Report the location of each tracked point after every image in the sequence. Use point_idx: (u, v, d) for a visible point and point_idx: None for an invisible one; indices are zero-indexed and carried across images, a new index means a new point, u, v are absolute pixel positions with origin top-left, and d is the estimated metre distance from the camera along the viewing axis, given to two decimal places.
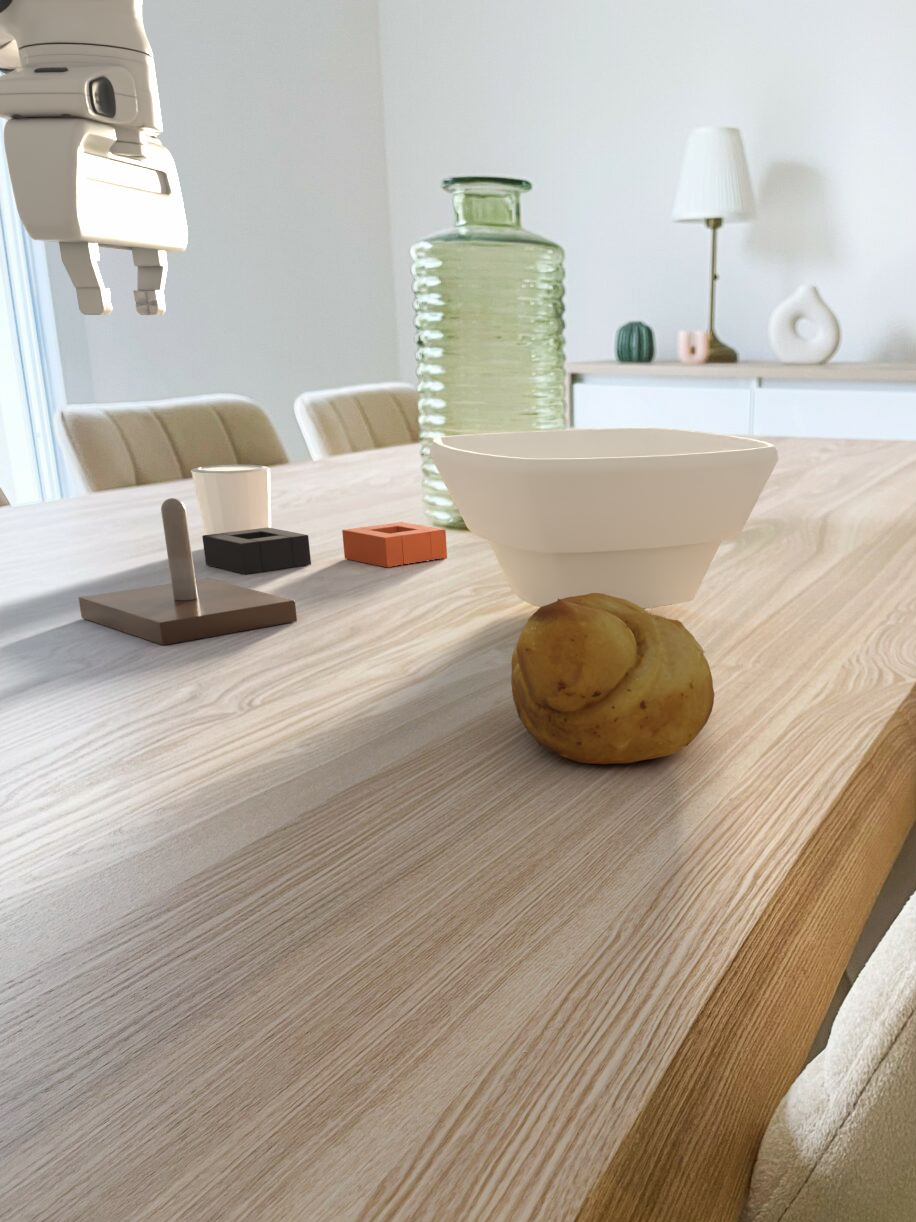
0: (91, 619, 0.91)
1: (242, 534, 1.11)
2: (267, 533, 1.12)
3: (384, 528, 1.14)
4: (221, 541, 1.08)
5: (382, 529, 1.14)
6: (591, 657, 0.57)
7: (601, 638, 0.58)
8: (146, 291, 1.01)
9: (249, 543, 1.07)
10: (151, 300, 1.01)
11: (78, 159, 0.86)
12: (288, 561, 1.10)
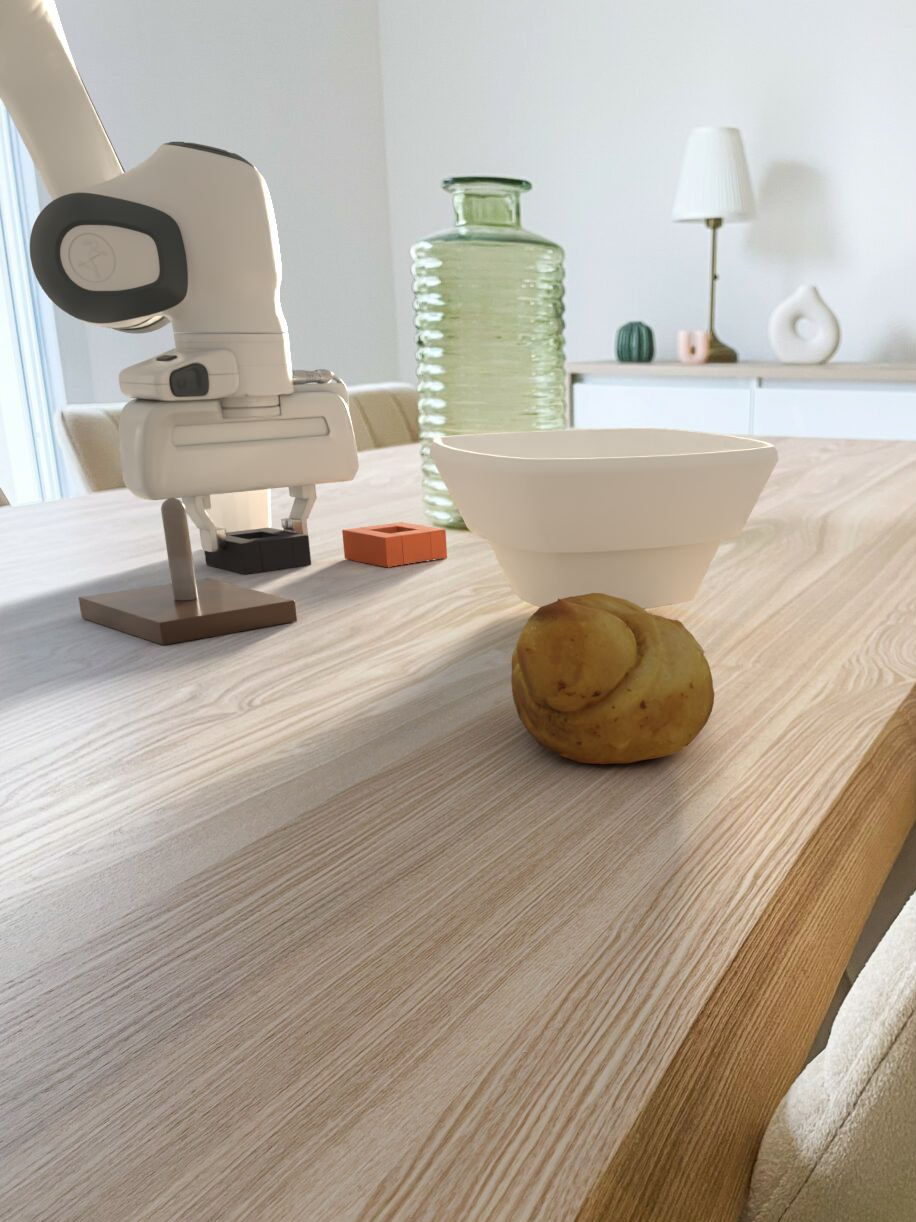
0: (91, 619, 0.91)
1: (242, 534, 1.11)
2: (267, 533, 1.12)
3: (384, 528, 1.14)
4: None
5: (382, 529, 1.14)
6: (591, 657, 0.57)
7: (601, 638, 0.58)
8: (288, 520, 1.12)
9: (249, 543, 1.07)
10: (291, 529, 1.12)
11: (155, 436, 1.00)
12: (288, 561, 1.10)
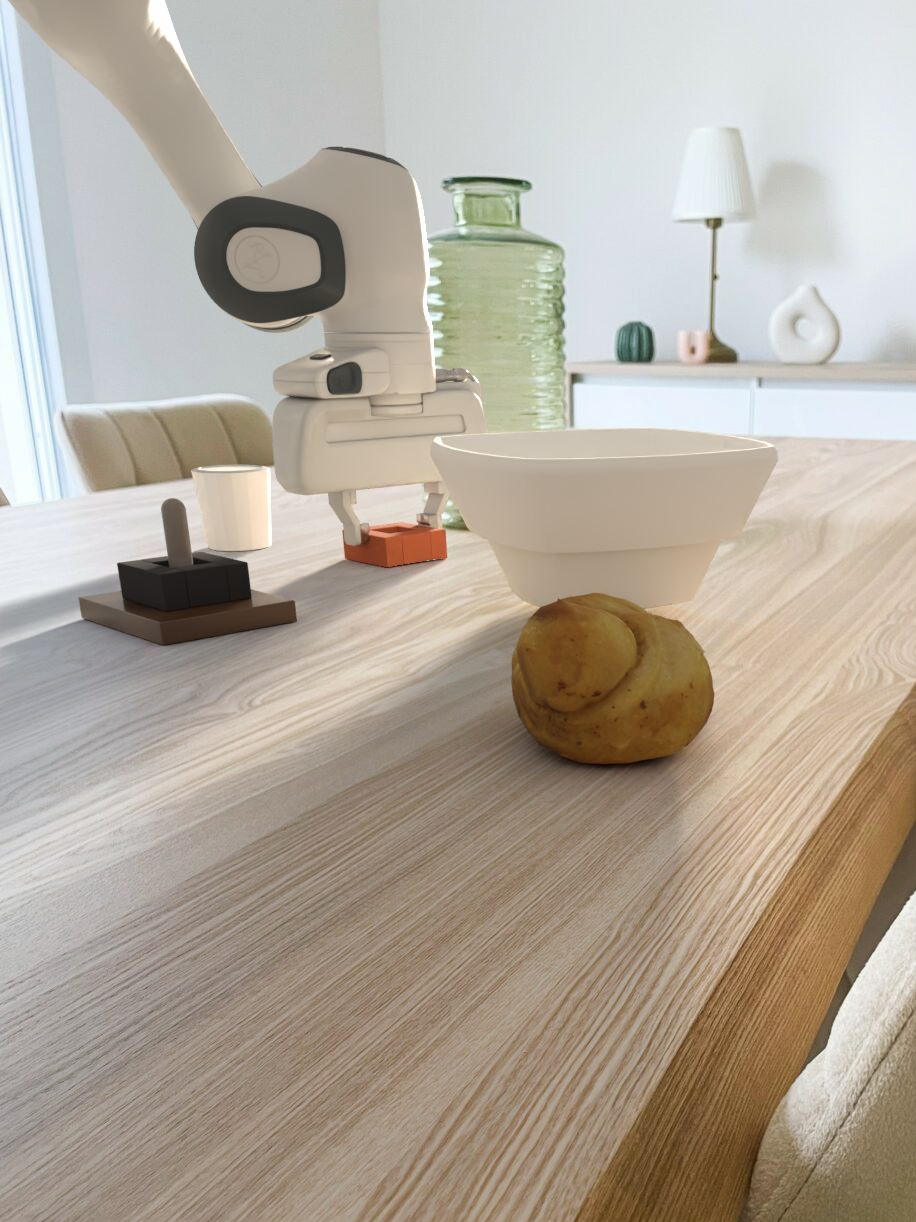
0: (91, 619, 0.91)
1: (167, 561, 0.91)
2: (198, 559, 0.91)
3: (384, 528, 1.14)
4: (139, 571, 0.88)
5: (382, 529, 1.14)
6: (591, 657, 0.57)
7: (601, 637, 0.58)
8: (423, 515, 1.15)
9: (172, 573, 0.86)
10: (427, 523, 1.15)
11: (311, 433, 1.03)
12: (222, 594, 0.89)
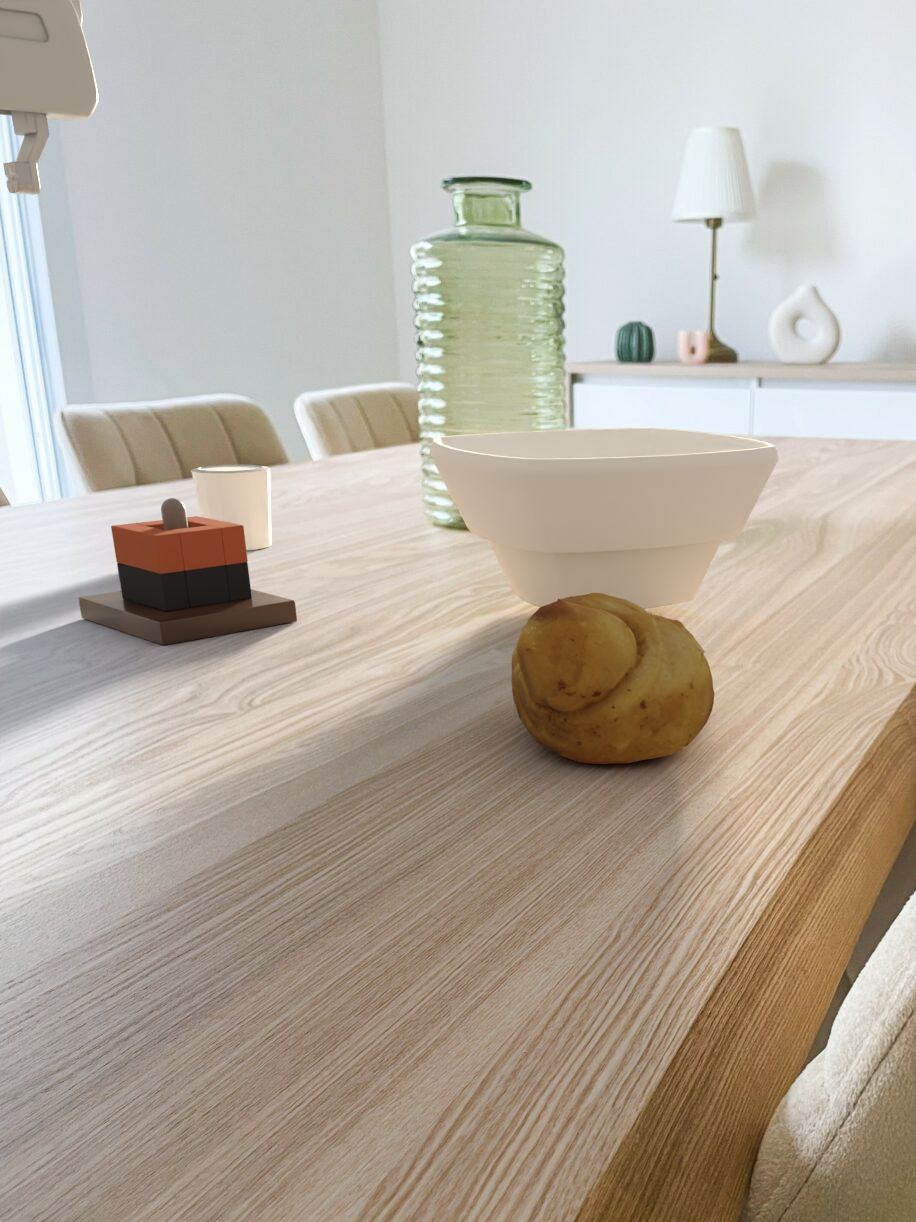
0: (91, 619, 0.91)
1: None
2: None
3: None
4: (139, 571, 0.88)
5: None
6: (591, 657, 0.57)
7: (602, 637, 0.58)
8: (10, 163, 0.84)
9: (172, 573, 0.86)
10: (16, 175, 0.84)
11: None
12: (222, 594, 0.89)
